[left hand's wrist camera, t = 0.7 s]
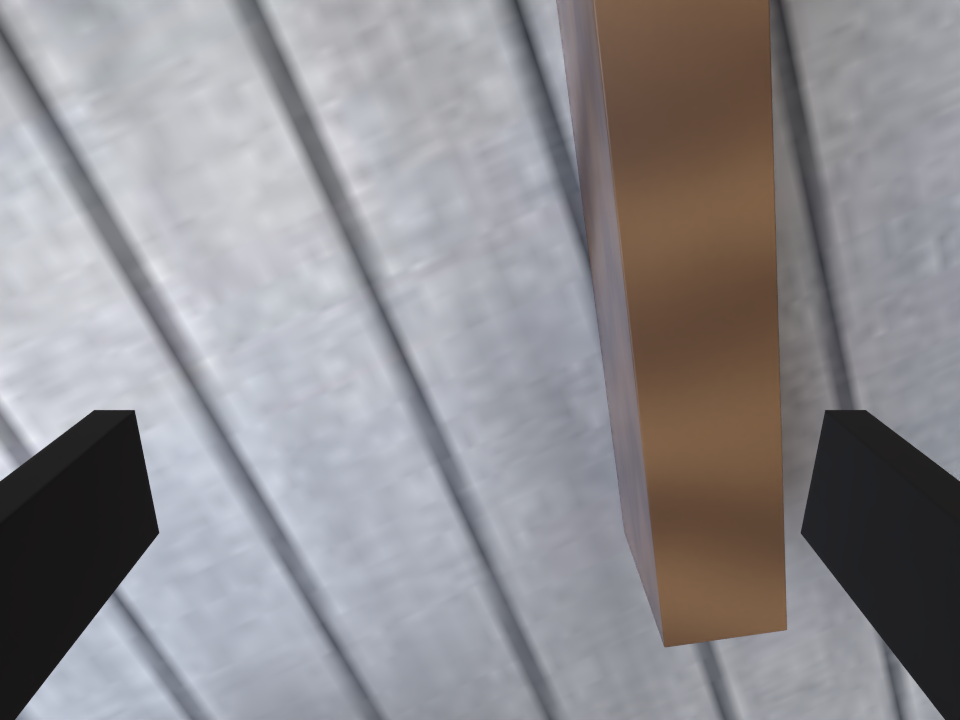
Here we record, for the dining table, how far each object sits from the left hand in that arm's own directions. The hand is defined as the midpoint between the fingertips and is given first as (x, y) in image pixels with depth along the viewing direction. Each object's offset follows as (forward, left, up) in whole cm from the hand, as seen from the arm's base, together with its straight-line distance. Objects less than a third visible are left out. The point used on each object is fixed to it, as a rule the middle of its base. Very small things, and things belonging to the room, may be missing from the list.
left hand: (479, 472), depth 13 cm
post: (+17, -1, -20) cm, 27 cm away
